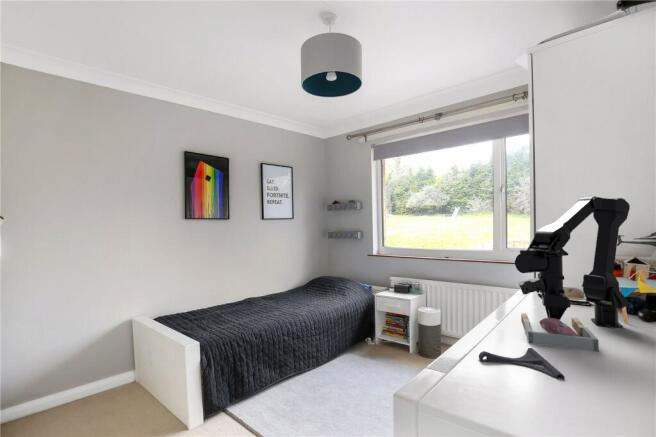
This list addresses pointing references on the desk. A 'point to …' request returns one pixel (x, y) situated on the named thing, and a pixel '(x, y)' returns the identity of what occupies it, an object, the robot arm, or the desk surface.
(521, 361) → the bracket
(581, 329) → the pair of wooden bars
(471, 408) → the desk surface
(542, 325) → the video game controller
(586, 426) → the desk surface
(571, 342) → the grey u-shaped frame
